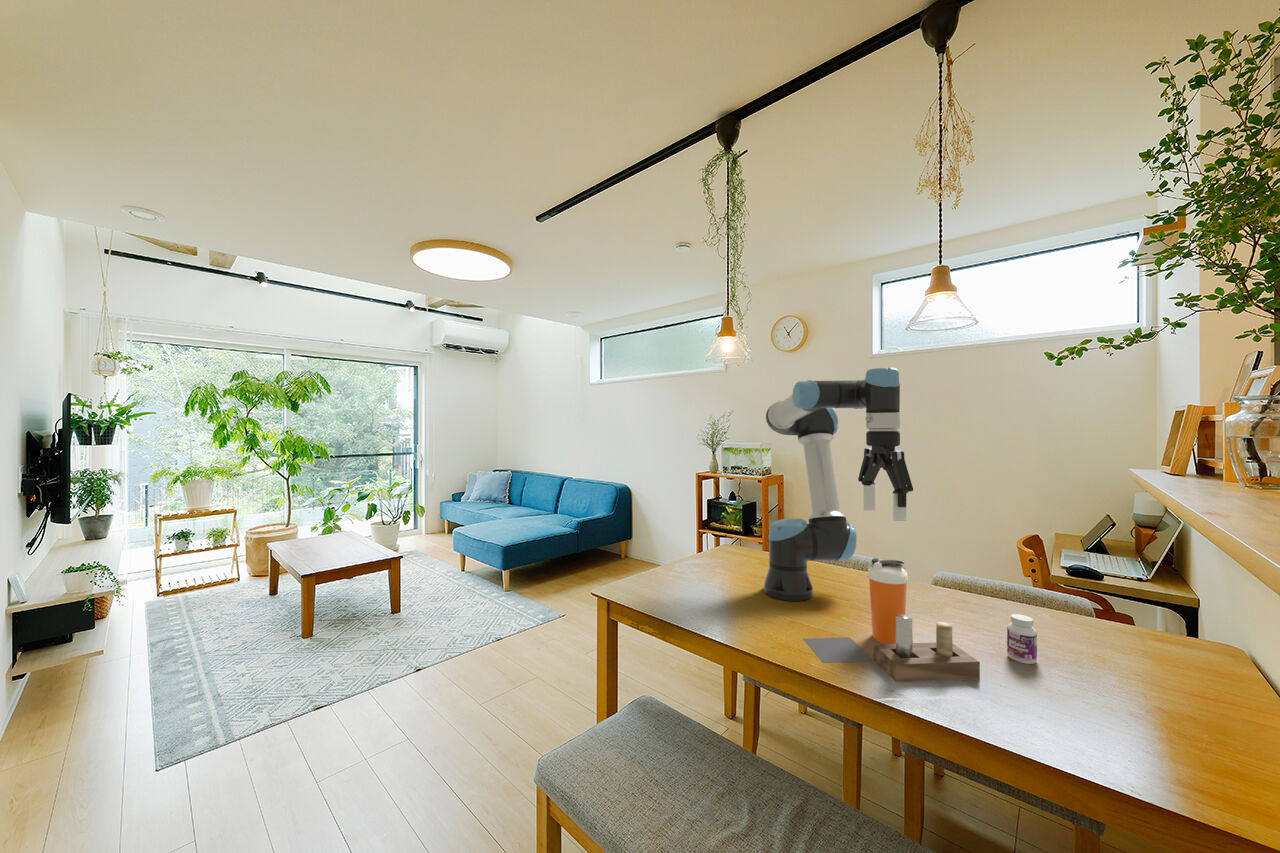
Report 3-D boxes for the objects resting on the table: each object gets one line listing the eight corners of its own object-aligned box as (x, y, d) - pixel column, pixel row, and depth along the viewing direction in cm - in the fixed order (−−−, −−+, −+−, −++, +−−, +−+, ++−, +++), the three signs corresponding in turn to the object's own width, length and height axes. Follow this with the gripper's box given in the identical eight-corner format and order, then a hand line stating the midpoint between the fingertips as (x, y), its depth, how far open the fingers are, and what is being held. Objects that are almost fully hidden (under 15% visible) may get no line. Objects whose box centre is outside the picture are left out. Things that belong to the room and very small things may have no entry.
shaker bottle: (914, 650, 113) (913, 567, 113) (874, 647, 115) (873, 565, 115) (901, 633, 122) (900, 556, 122) (864, 631, 124) (863, 555, 123)
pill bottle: (1006, 659, 108) (1006, 617, 108) (1007, 651, 112) (1007, 610, 112) (1037, 667, 104) (1036, 624, 104) (1037, 658, 108) (1037, 616, 108)
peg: (893, 667, 105) (892, 614, 105) (907, 667, 105) (906, 613, 105) (901, 675, 102) (901, 620, 102) (916, 675, 102) (915, 619, 102)
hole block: (873, 661, 108) (873, 644, 108) (950, 659, 108) (950, 642, 108) (896, 683, 99) (896, 664, 99) (979, 680, 99) (979, 661, 99)
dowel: (933, 666, 105) (933, 622, 105) (946, 666, 105) (946, 622, 105) (942, 674, 102) (942, 628, 102) (956, 673, 102) (955, 627, 102)
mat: (803, 640, 119) (803, 638, 119) (849, 638, 119) (849, 637, 119) (823, 664, 107) (823, 662, 107) (875, 662, 107) (874, 661, 107)
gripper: (844, 429, 130) (845, 506, 130) (897, 431, 105) (898, 526, 105) (871, 429, 130) (871, 506, 130) (930, 430, 105) (931, 525, 105)
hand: (883, 515), depth 117 cm, fingers open, 13 cm apart
